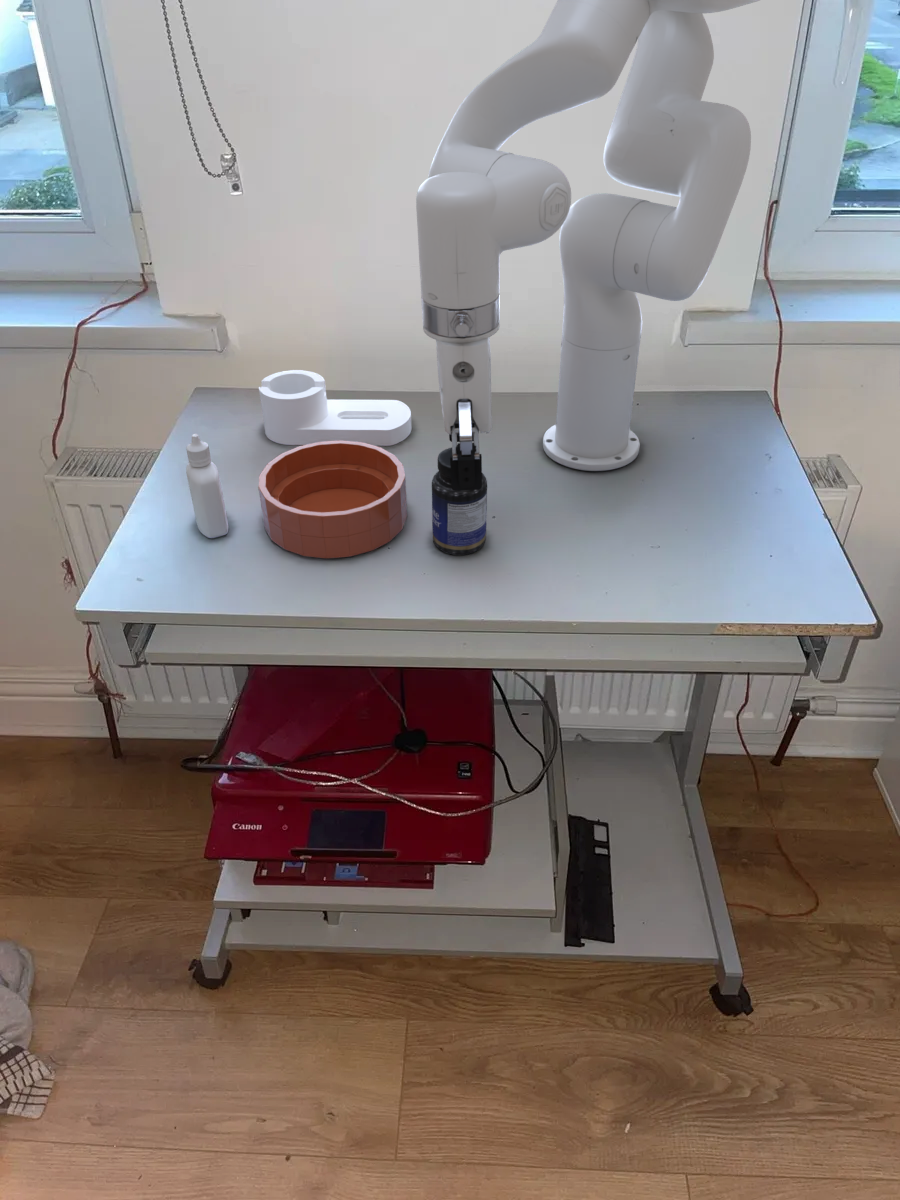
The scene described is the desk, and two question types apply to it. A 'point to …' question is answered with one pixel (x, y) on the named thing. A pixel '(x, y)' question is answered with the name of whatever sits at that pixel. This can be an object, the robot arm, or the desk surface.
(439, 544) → the pill bottle
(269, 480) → the bowl
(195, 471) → the eye dropper bottle
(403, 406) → the bracket
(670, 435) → the desk surface
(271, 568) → the desk surface
